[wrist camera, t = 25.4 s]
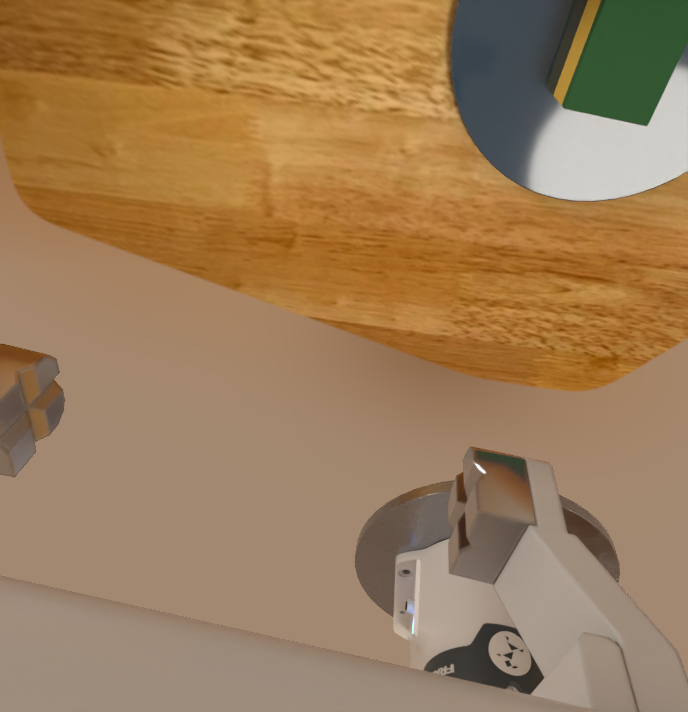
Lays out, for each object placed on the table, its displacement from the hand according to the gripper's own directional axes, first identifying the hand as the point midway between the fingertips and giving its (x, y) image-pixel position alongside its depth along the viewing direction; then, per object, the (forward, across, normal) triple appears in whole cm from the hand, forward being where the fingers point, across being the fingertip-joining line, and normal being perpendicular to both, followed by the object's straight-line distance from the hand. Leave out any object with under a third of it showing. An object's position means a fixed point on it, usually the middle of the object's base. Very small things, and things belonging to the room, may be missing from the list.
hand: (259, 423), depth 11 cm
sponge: (+28, -12, -6) cm, 31 cm away
